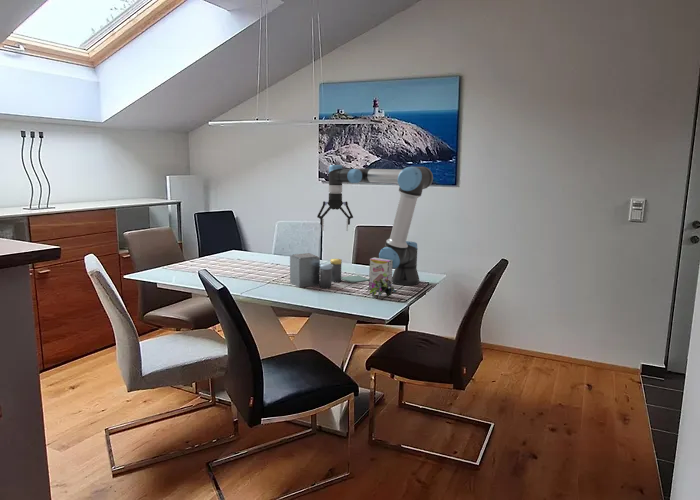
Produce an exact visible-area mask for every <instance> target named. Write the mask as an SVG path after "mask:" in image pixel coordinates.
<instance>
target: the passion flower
mask: <svg viewBox="0 0 700 500" xmlns="http://www.w3.org/2000/svg"><path fill="white" fill-rule="evenodd" d="M375 282H376V283H375V284H376V285H375V287H374V288H373V289H372V288H371V287H369V286H368V289H367V291H368V293H369V294H372V296H373V295H374V296H376V294H377V293H378V298H377V299H379V298H380V297H381V296H382V295H383V293H385V295H386V296H387V297H390V296H392V295H393V294H392V292H393V293H394V294H395V293H397V290H395V287H394V286H393V283H392V284H391V281H390V280H388V279H385V280H382V279H380V281H376V280H375ZM391 285H392V286H391ZM376 287H377V288H376ZM370 288H371V289H370ZM380 288H381V289H382V291H380Z"/></svg>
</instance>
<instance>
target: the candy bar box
mask: <svg viewBox="0 0 700 500" xmlns="http://www.w3.org/2000/svg"><path fill="white" fill-rule="evenodd" d="M392 264H393V260H388V259H381V258H379V257H371V258H369V275H368V279H369V281H368V288H369V287H371V288H372V289H373V288H374V287H375V285H376V284H375V283H376V282H375V280H376V281H380V279H382V280H385V279H388V280H390V281H391V284H392V285H391V286H392V287H393V282H392V276H393V269H392ZM371 288H370V289H369V290H371ZM376 288H377V287H376ZM380 291H382V289H381V288H380ZM380 291H379V292H380Z"/></svg>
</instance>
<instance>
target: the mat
mask: <svg viewBox="0 0 700 500" xmlns="http://www.w3.org/2000/svg"><path fill="white" fill-rule="evenodd" d="M341 280H343V281H345V282H347V283H349V284H353V283H362V282H369V278H366V277H364V276H362V275H360V274H359V275H357V274H356V275H349V276H341Z"/></svg>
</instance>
